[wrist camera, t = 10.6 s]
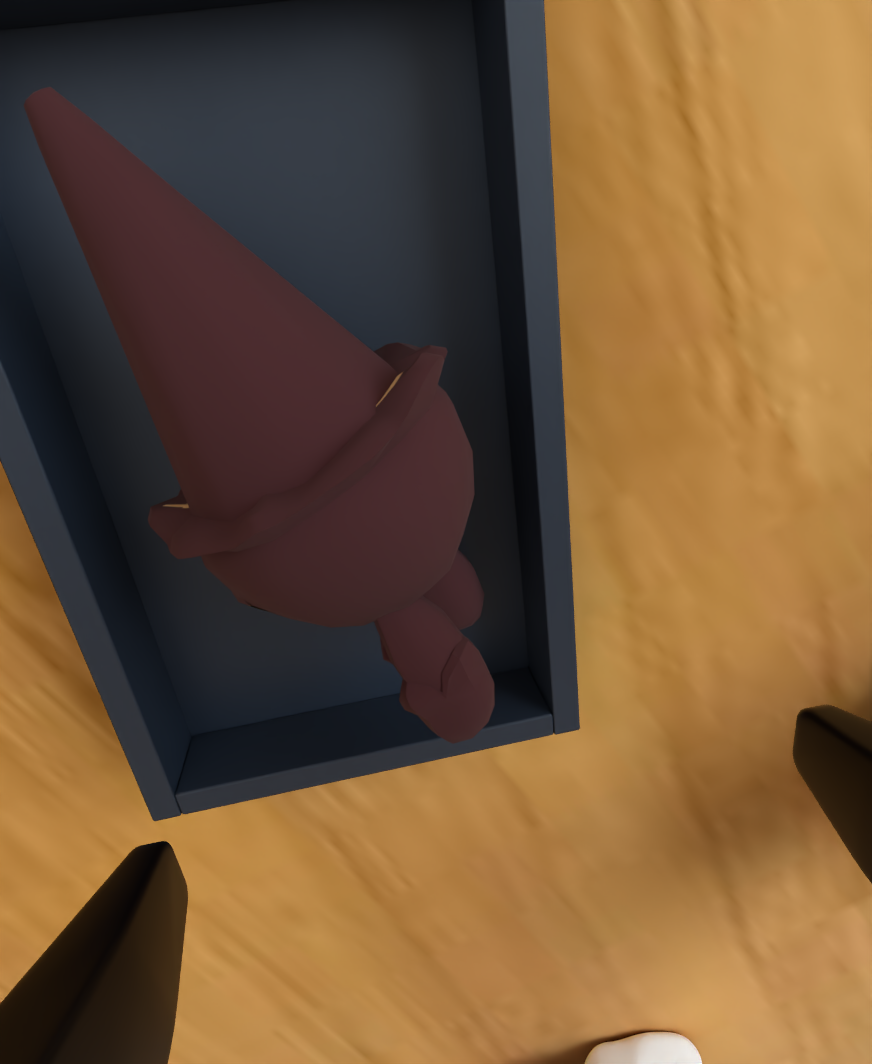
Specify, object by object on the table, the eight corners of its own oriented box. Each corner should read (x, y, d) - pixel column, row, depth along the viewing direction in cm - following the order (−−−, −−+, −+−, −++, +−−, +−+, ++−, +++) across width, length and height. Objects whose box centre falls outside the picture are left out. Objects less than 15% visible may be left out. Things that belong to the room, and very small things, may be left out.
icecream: (-302, 257, 8) (343, 824, 16) (93, -144, 6) (631, 731, 13) (5, 195, 14) (372, 629, 21) (266, -25, 12) (576, 542, 19)
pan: (495, -55, 14) (537, -138, 11) (547, 670, 22) (580, 729, 19) (-105, 4, 13) (-228, -72, 10) (177, 746, 21) (152, 822, 18)
